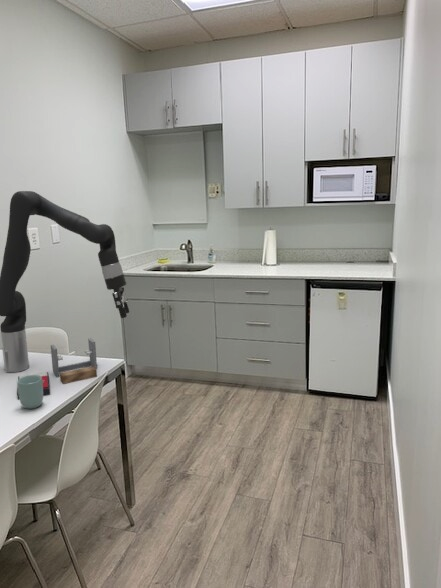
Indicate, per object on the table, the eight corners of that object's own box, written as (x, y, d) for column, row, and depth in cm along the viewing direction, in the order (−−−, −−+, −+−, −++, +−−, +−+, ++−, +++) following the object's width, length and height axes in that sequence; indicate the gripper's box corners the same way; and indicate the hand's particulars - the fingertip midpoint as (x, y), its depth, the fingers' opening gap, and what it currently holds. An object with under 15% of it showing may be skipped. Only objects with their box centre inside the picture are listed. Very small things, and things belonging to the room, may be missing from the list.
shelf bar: (62, 384, 170) (62, 376, 169) (60, 381, 174) (59, 373, 173) (96, 377, 177) (96, 369, 176) (93, 374, 181) (93, 366, 180)
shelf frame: (56, 377, 176) (53, 349, 174) (53, 372, 181) (50, 345, 179) (97, 368, 185) (95, 341, 183) (92, 364, 190) (90, 338, 187)
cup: (48, 401, 156) (46, 375, 154) (37, 411, 148) (34, 384, 146) (27, 400, 157) (24, 374, 154) (15, 410, 149) (12, 383, 147)
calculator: (16, 391, 156) (17, 374, 170) (17, 402, 157) (19, 384, 171) (49, 386, 160) (48, 369, 174) (50, 397, 161) (49, 379, 175)
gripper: (107, 276, 176) (118, 314, 178) (100, 280, 162) (113, 321, 164) (125, 271, 176) (136, 309, 179) (120, 275, 162) (132, 316, 165)
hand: (125, 315), depth 171 cm, fingers open, 8 cm apart
